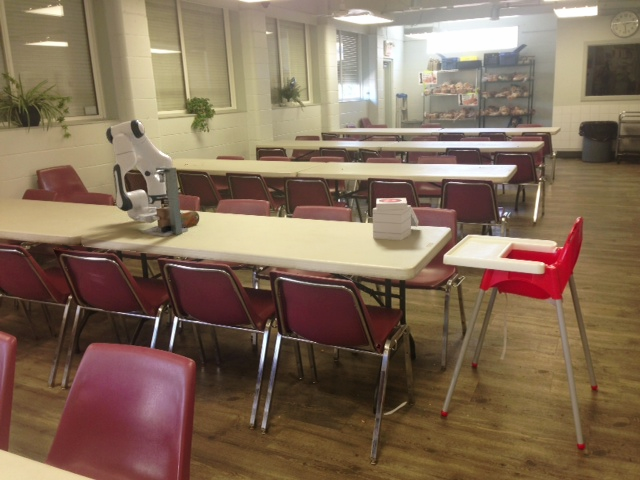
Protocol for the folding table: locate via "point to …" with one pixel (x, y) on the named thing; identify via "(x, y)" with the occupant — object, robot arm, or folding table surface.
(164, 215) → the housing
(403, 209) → the pizza boxes
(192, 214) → the tin
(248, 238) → the folding table surface
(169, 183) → the press
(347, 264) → the folding table surface
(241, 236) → the folding table surface
